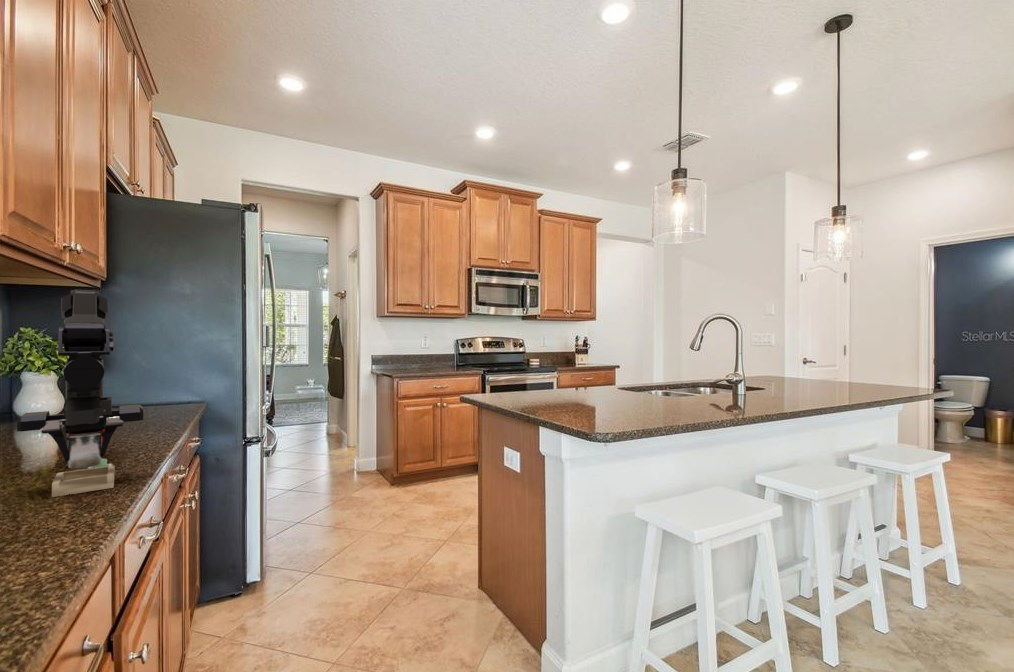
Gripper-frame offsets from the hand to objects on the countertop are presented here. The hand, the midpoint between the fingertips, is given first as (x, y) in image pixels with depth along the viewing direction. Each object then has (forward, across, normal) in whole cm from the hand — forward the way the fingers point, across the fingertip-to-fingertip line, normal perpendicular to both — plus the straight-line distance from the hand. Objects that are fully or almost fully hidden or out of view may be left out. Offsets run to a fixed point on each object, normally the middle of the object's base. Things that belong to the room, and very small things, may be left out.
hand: (85, 458), depth 95 cm
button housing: (+6, +2, +7) cm, 9 cm away
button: (+6, +2, +7) cm, 10 cm away
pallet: (+6, 0, 0) cm, 6 cm away
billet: (+1, 0, 0) cm, 1 cm away
